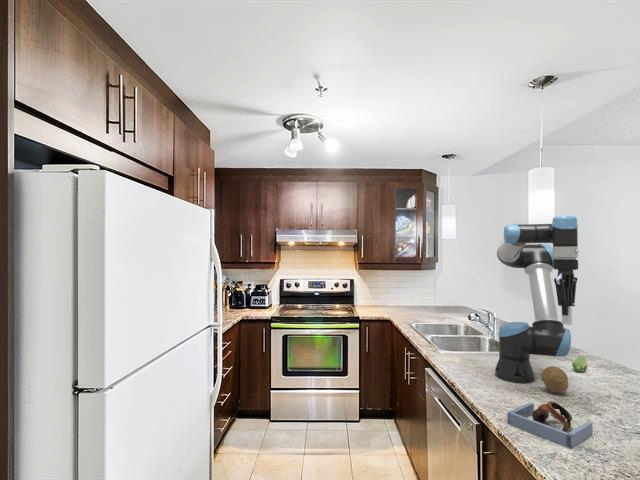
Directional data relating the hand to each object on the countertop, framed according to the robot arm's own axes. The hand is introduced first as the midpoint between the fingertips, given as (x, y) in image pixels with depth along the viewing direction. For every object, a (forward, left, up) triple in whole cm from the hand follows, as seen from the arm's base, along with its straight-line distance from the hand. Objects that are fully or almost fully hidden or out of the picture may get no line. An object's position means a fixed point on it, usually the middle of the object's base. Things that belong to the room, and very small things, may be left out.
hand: (566, 324), depth 132 cm
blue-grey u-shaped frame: (+5, -25, -28) cm, 38 cm away
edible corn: (-16, +51, -29) cm, 60 cm away
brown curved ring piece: (+4, -23, -29) cm, 37 cm away
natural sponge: (-8, +8, -29) cm, 31 cm away
